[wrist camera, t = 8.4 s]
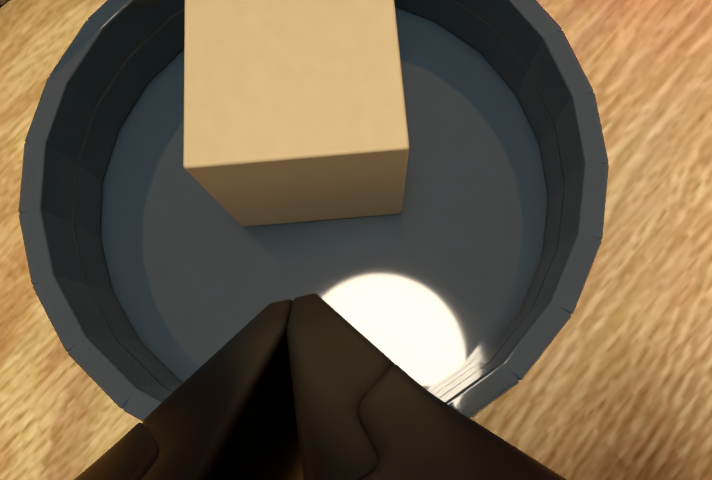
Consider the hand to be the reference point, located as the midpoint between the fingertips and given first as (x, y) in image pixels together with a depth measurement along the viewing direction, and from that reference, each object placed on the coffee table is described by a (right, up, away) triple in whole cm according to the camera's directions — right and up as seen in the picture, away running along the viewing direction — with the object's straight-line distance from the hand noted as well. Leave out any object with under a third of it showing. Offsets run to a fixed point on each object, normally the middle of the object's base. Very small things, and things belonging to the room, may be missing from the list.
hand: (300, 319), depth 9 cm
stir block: (0, +3, +5) cm, 6 cm away
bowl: (0, +3, +8) cm, 8 cm away
